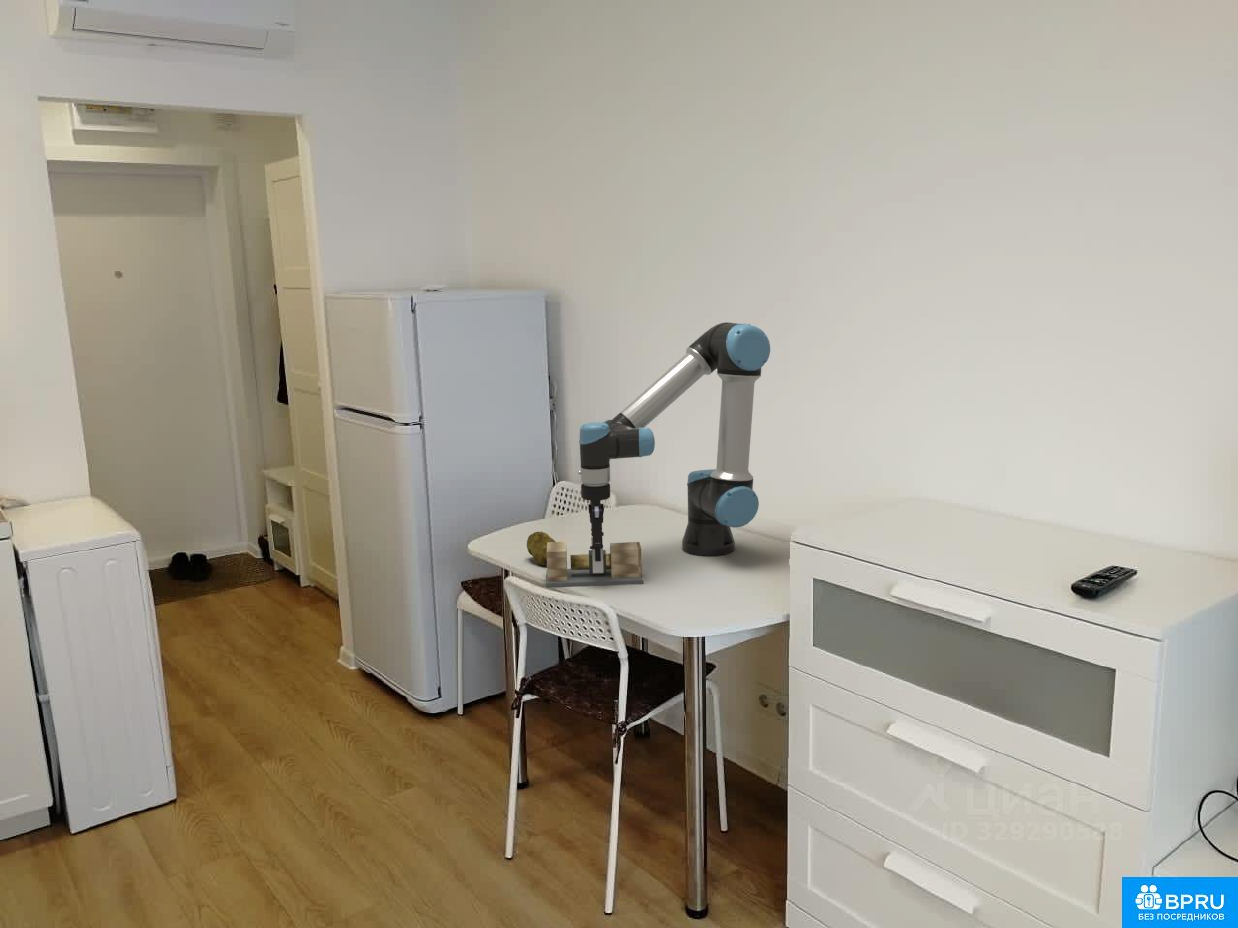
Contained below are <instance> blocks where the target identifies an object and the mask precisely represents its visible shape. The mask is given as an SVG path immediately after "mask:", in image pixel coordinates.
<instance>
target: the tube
mask: <svg viewBox="0 0 1238 928" xmlns="http://www.w3.org/2000/svg"><path fill="white" fill-rule="evenodd" d="M570 569H571V570H589V574H596V573H593V559H592V549H588V554H570ZM606 569H611V554H610V553H606V549H603V573H606Z"/></svg>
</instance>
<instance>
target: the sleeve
mask: <svg viewBox="0 0 1238 928" xmlns="http://www.w3.org/2000/svg"><path fill="white" fill-rule="evenodd" d="M609 554H611V577H612V578H632V577H643V573H642V572H643V570H642V568H643V567H642V562H643V561H642V547H641V542H640V541H635V542H634V541H633V542H632V541H629V542H609Z"/></svg>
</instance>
